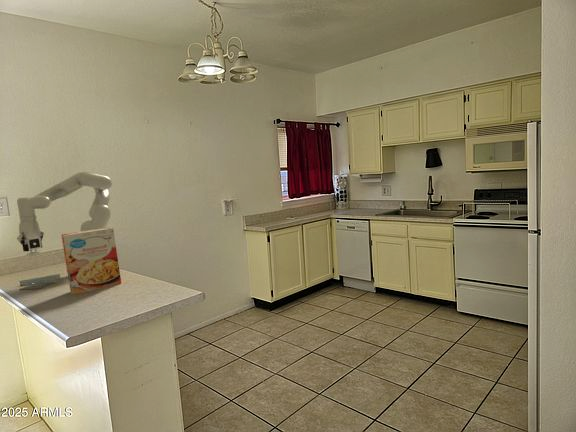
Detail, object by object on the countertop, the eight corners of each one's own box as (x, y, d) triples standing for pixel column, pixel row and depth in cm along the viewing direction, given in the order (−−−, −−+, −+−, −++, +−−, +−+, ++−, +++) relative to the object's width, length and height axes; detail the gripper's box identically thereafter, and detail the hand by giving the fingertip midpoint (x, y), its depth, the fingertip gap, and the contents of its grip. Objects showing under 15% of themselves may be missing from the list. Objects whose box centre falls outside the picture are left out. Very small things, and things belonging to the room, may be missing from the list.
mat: (55, 282, 221) (54, 281, 221) (38, 289, 210) (38, 288, 209) (36, 283, 223) (36, 282, 223) (19, 290, 211) (19, 289, 211)
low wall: (60, 278, 230) (59, 273, 230) (60, 279, 229) (59, 274, 229) (20, 285, 222) (19, 280, 222) (20, 285, 221) (19, 280, 221)
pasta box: (73, 295, 192) (63, 235, 188) (70, 291, 198) (61, 234, 195) (121, 283, 205) (113, 228, 202) (117, 281, 212) (109, 227, 208)
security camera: (30, 256, 215) (27, 239, 214) (25, 255, 220) (23, 238, 219) (42, 254, 220) (39, 236, 219) (38, 253, 225) (35, 236, 223)
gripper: (35, 217, 227) (40, 246, 229) (8, 221, 210) (14, 253, 212) (46, 216, 225) (50, 246, 227) (20, 221, 208) (25, 252, 210)
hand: (33, 249), depth 219 cm, fingers closed on security camera, 8 cm apart
